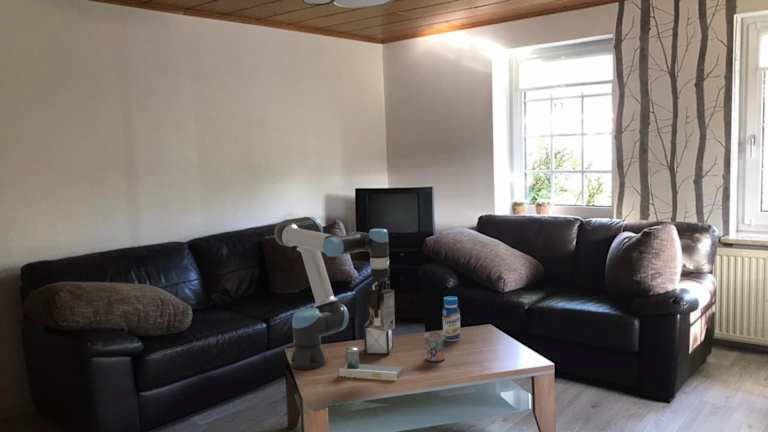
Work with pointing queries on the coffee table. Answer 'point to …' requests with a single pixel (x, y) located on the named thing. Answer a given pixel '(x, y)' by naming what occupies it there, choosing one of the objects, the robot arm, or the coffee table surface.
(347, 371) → the shelf board
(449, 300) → the beverage bottle
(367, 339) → the lantern
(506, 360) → the coffee table surface
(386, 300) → the coffee box
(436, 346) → the mug
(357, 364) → the tea tin
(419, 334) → the coffee table surface
